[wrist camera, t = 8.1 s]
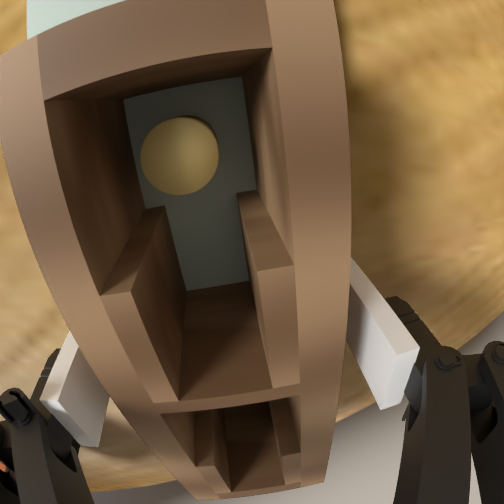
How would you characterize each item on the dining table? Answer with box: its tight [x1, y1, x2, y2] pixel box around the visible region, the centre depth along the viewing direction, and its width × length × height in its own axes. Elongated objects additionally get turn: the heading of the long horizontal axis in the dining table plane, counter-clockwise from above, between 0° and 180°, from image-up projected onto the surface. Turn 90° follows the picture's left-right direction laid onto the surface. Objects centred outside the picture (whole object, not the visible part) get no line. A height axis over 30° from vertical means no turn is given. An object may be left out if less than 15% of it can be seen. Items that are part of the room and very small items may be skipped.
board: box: [27, 0, 257, 291], centre depth 12 cm, size 28×12×4 cm, turn 7°
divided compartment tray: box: [0, 0, 351, 500], centre depth 11 cm, size 20×7×6 cm, turn 7°
